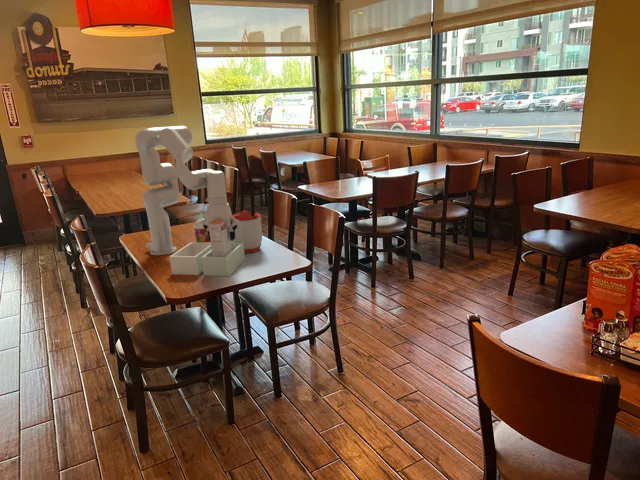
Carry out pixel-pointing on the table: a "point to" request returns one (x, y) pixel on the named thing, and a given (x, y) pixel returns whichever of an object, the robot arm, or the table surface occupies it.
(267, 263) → the table surface
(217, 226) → the cracker box
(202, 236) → the smoothie
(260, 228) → the citrus juicer
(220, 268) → the bin
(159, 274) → the table surface
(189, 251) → the white open tray
